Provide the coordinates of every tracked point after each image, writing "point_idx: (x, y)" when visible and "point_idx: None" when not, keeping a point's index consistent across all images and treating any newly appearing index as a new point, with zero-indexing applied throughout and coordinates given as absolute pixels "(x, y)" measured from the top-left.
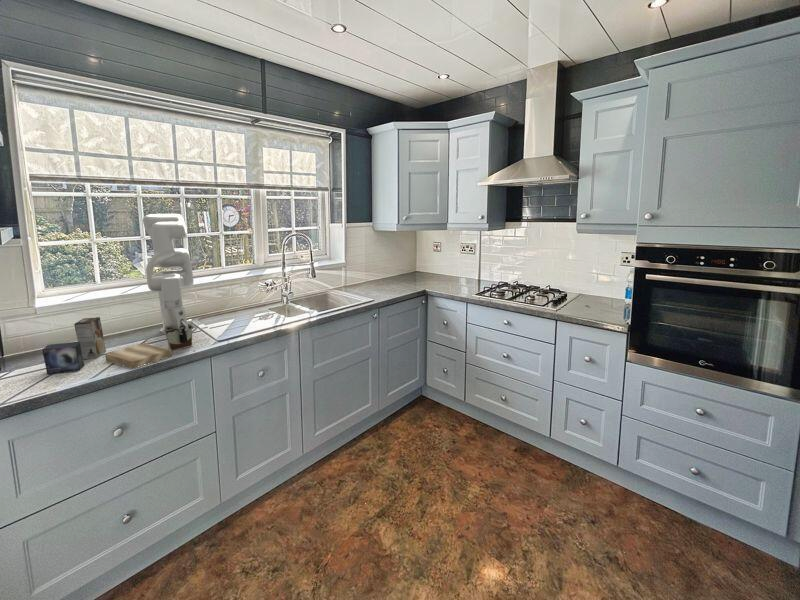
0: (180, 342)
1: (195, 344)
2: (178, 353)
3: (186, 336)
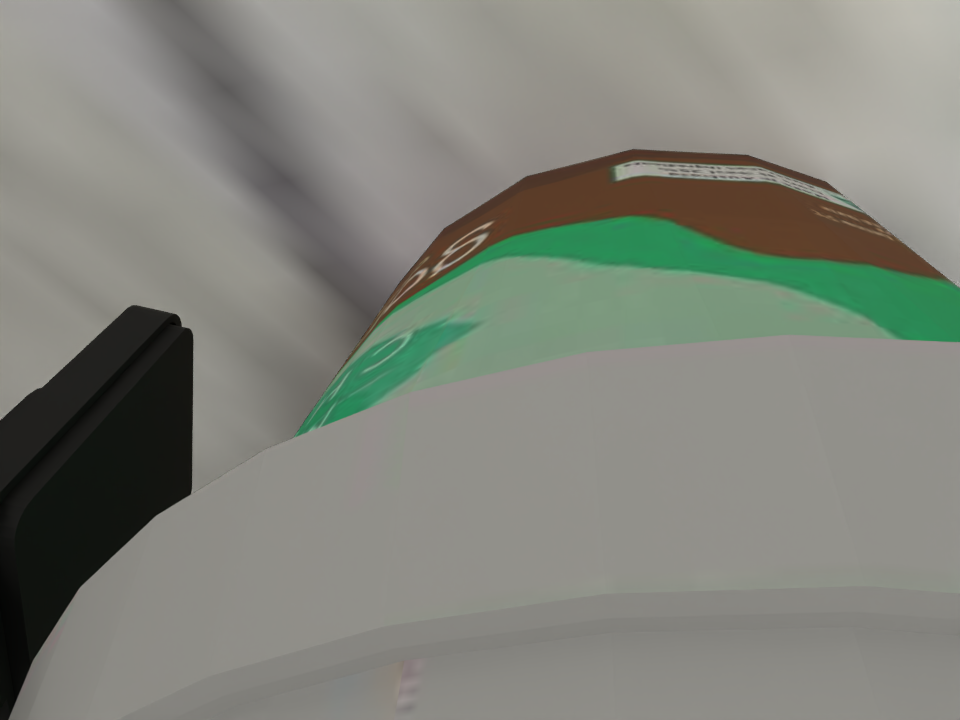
0: None
1: (869, 42)
2: None
3: None
